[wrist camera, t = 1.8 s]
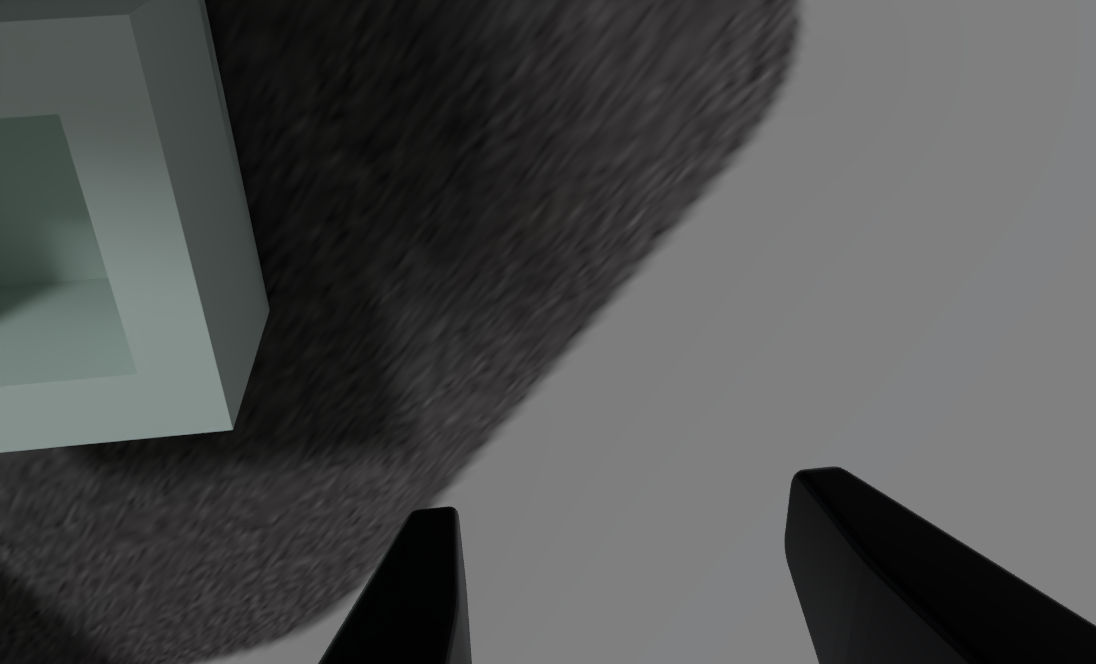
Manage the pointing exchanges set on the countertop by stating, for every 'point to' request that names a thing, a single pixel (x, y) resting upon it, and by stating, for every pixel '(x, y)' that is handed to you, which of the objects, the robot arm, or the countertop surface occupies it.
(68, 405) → the collar block
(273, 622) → the countertop surface
